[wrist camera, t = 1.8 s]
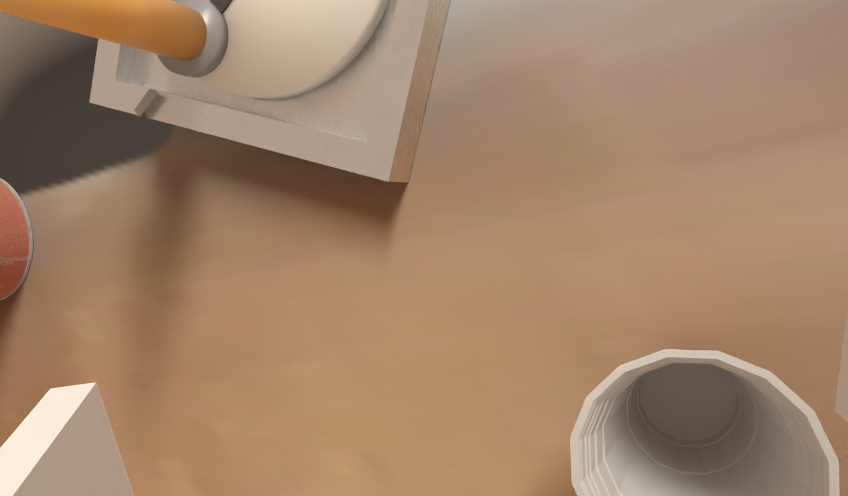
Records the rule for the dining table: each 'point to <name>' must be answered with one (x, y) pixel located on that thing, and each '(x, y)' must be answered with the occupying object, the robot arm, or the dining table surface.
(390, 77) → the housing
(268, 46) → the dial
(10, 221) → the canned food
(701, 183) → the dining table surface
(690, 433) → the plastic cup
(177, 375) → the dining table surface
